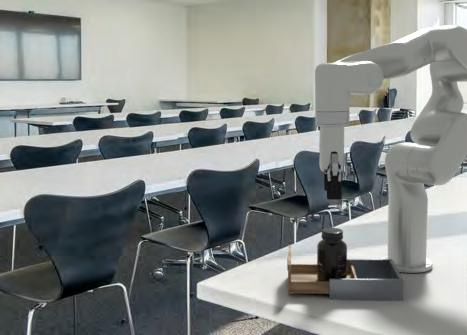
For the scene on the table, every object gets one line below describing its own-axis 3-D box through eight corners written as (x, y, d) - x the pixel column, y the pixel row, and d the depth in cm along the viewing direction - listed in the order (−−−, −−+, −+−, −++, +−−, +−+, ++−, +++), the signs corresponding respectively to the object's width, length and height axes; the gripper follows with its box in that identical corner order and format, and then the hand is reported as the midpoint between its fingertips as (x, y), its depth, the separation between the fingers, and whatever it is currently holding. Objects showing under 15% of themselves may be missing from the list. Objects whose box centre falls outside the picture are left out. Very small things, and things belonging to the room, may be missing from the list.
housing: (325, 276, 143) (325, 258, 142) (391, 277, 141) (392, 258, 141) (329, 299, 128) (329, 279, 127) (403, 300, 126) (403, 280, 126)
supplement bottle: (311, 281, 135) (310, 230, 133) (327, 273, 140) (327, 224, 138) (336, 287, 130) (336, 235, 129) (352, 279, 135) (353, 229, 134)
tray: (287, 272, 144) (287, 245, 143) (352, 273, 142) (352, 245, 141) (287, 295, 129) (287, 264, 128) (359, 296, 127) (359, 265, 126)
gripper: (313, 116, 138) (314, 187, 141) (316, 122, 121) (317, 203, 124) (345, 116, 138) (345, 187, 140) (353, 121, 121) (353, 202, 123)
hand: (332, 194), depth 132 cm, fingers open, 9 cm apart
